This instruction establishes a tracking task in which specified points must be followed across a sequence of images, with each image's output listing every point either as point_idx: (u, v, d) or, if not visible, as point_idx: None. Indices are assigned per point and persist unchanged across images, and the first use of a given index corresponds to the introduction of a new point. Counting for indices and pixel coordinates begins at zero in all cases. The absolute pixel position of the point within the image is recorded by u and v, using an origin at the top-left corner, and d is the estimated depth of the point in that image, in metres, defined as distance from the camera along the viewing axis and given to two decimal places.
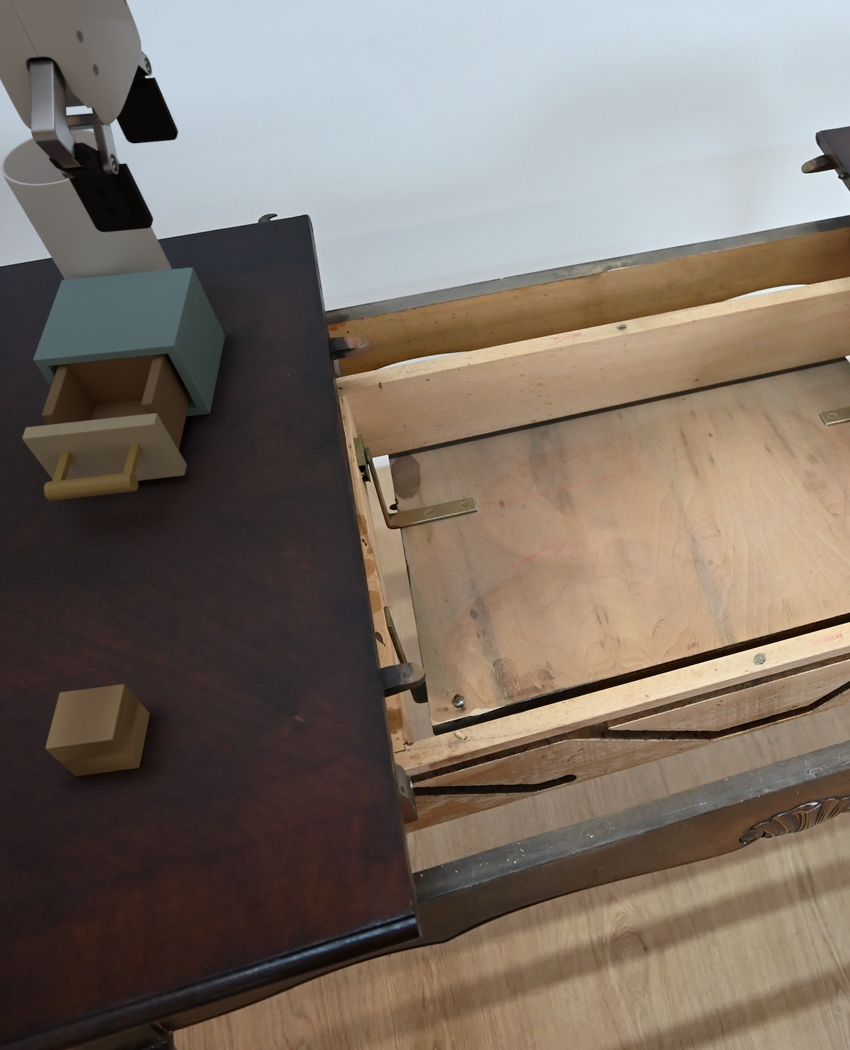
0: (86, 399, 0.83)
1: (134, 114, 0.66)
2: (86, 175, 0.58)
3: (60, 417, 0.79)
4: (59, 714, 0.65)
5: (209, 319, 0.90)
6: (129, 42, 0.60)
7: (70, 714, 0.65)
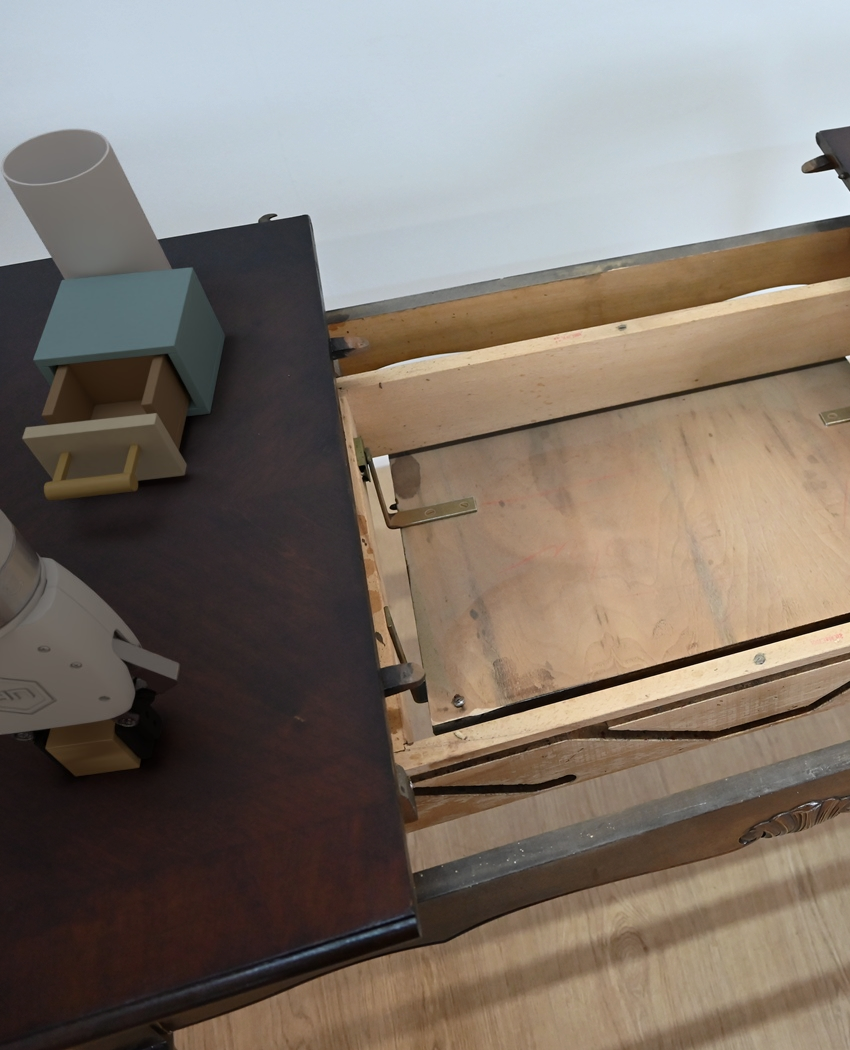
0: (86, 399, 0.83)
1: None
2: None
3: (60, 417, 0.79)
4: None
5: (209, 319, 0.90)
6: None
7: None
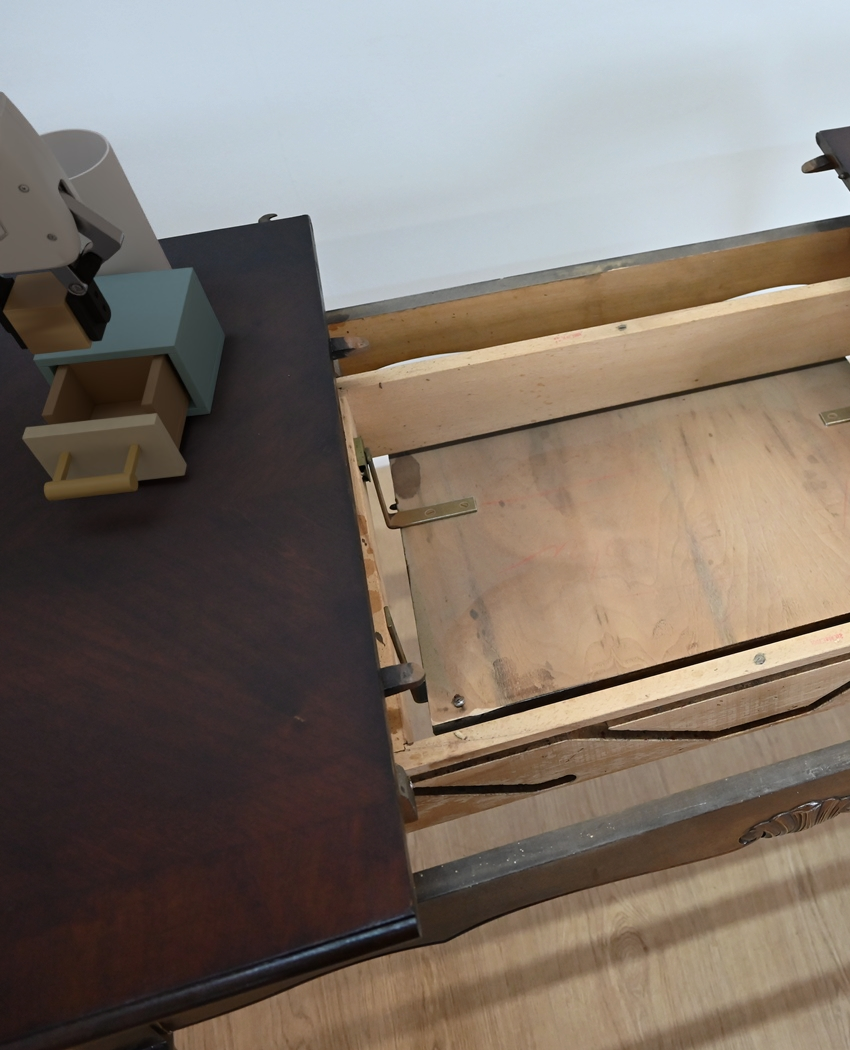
0: (86, 399, 0.83)
1: None
2: None
3: (60, 417, 0.79)
4: (16, 289, 0.72)
5: (209, 319, 0.90)
6: None
7: (26, 288, 0.72)
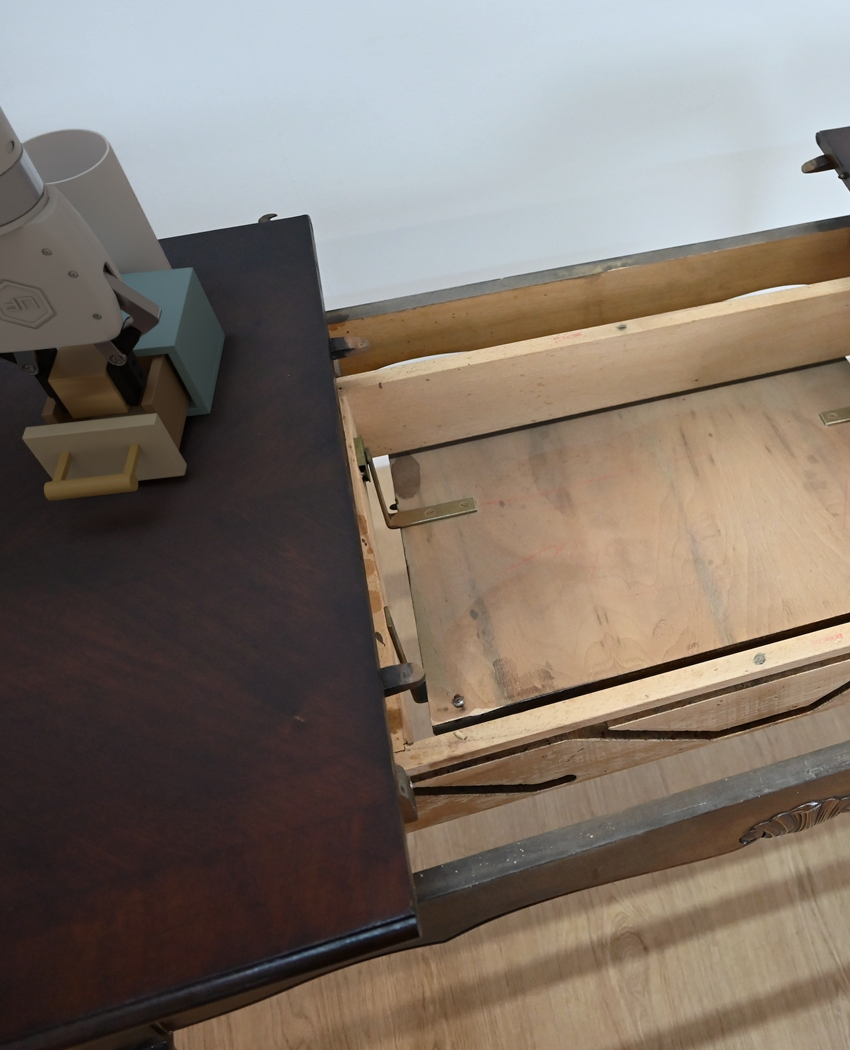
0: None
1: None
2: None
3: (60, 417, 0.79)
4: (60, 358, 0.77)
5: (209, 319, 0.90)
6: None
7: (68, 358, 0.77)
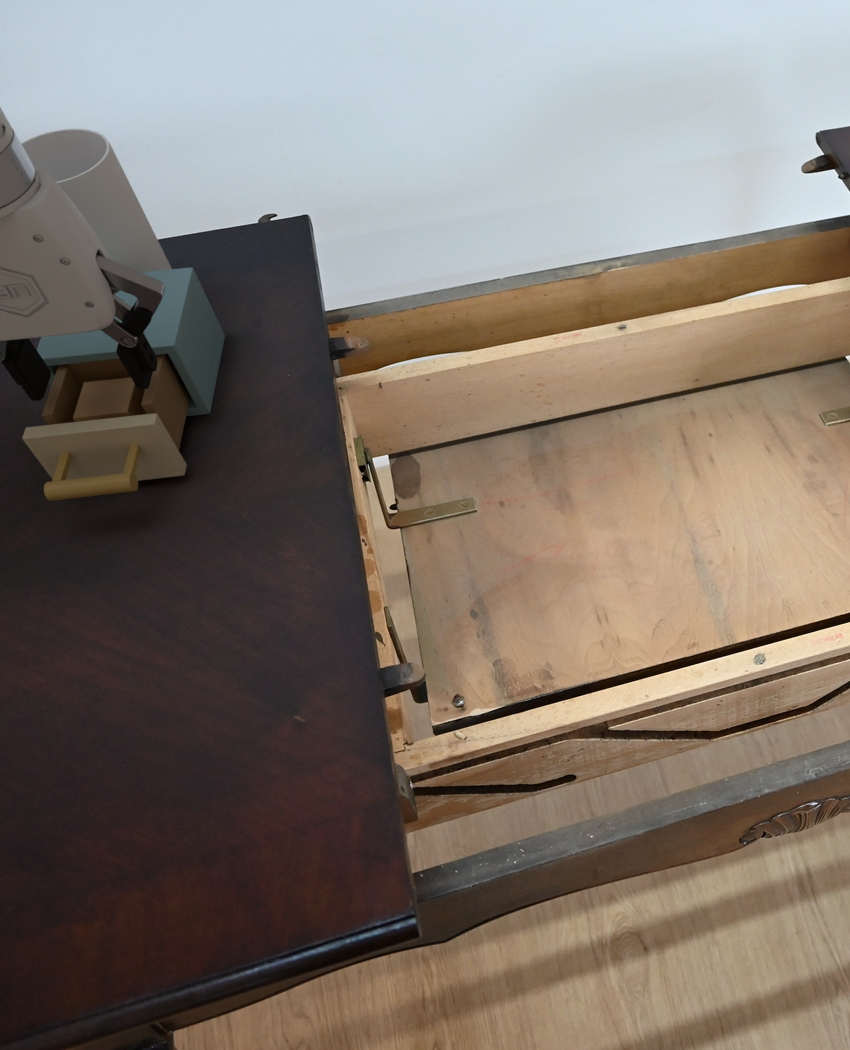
0: None
1: (33, 369, 0.76)
2: None
3: (60, 417, 0.79)
4: (84, 396, 0.80)
5: (209, 319, 0.90)
6: None
7: (92, 396, 0.80)
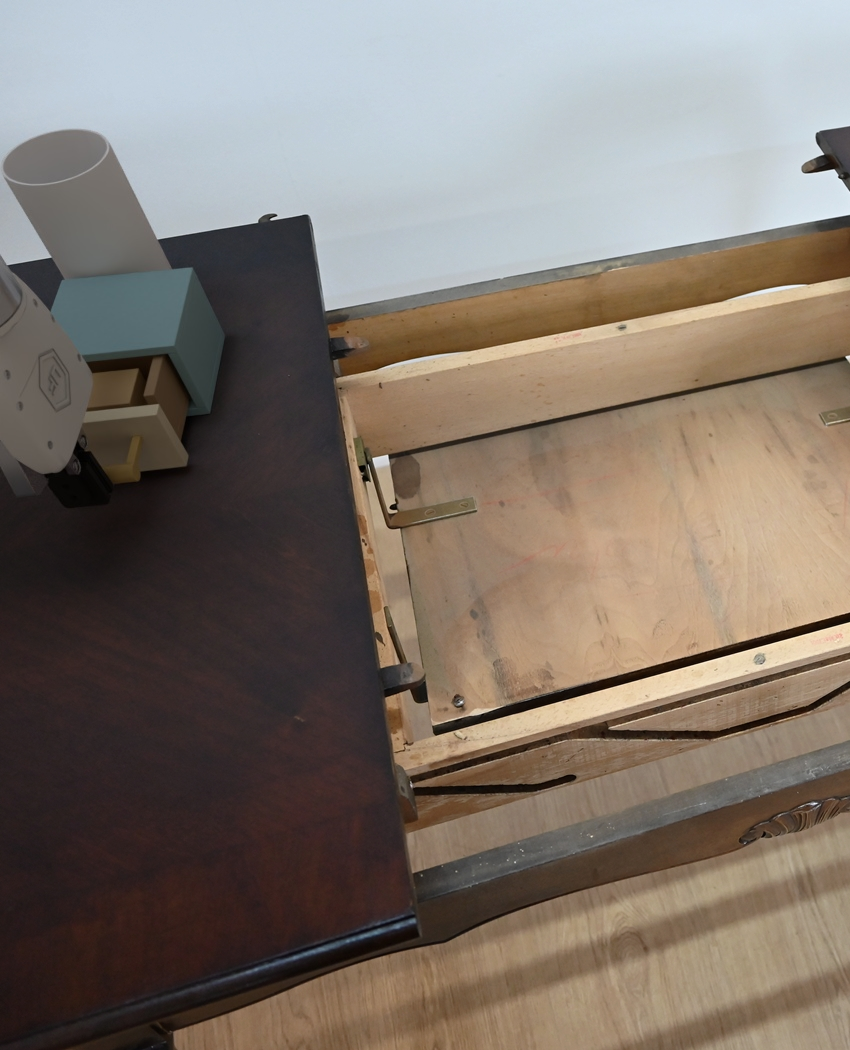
0: None
1: None
2: None
3: None
4: None
5: (209, 319, 0.90)
6: None
7: (95, 387, 0.80)
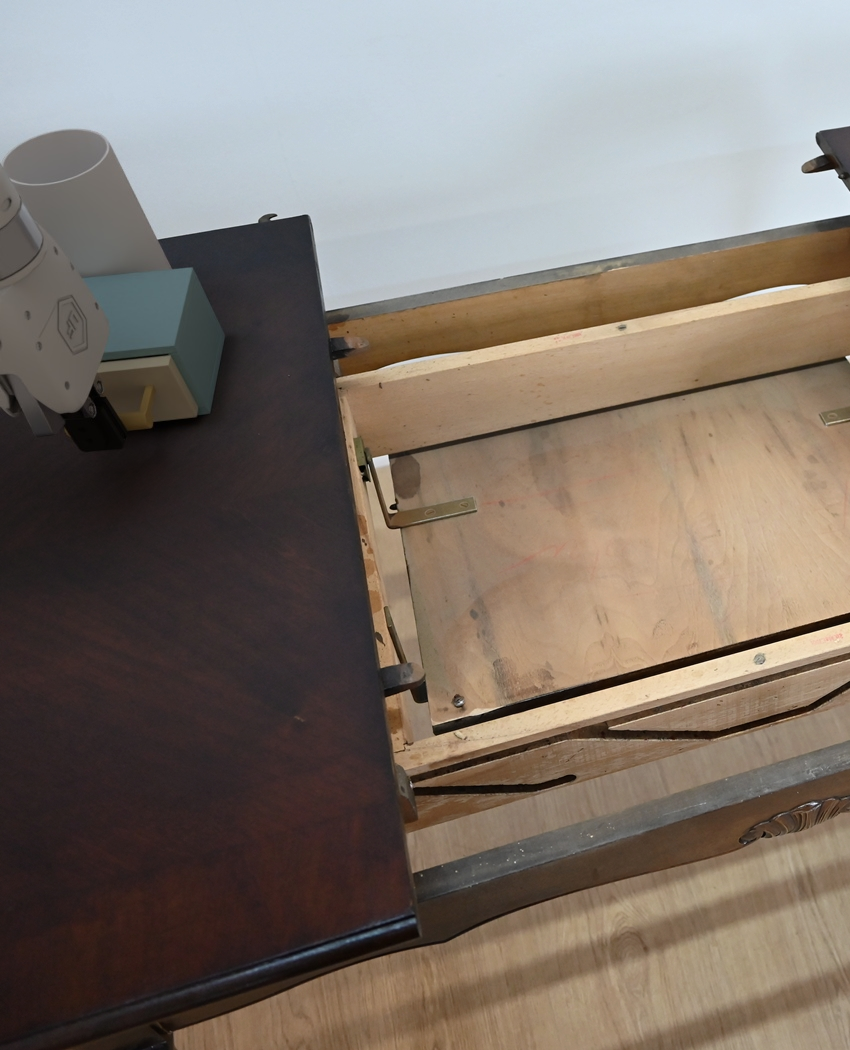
0: None
1: None
2: None
3: None
4: None
5: (209, 319, 0.90)
6: None
7: None
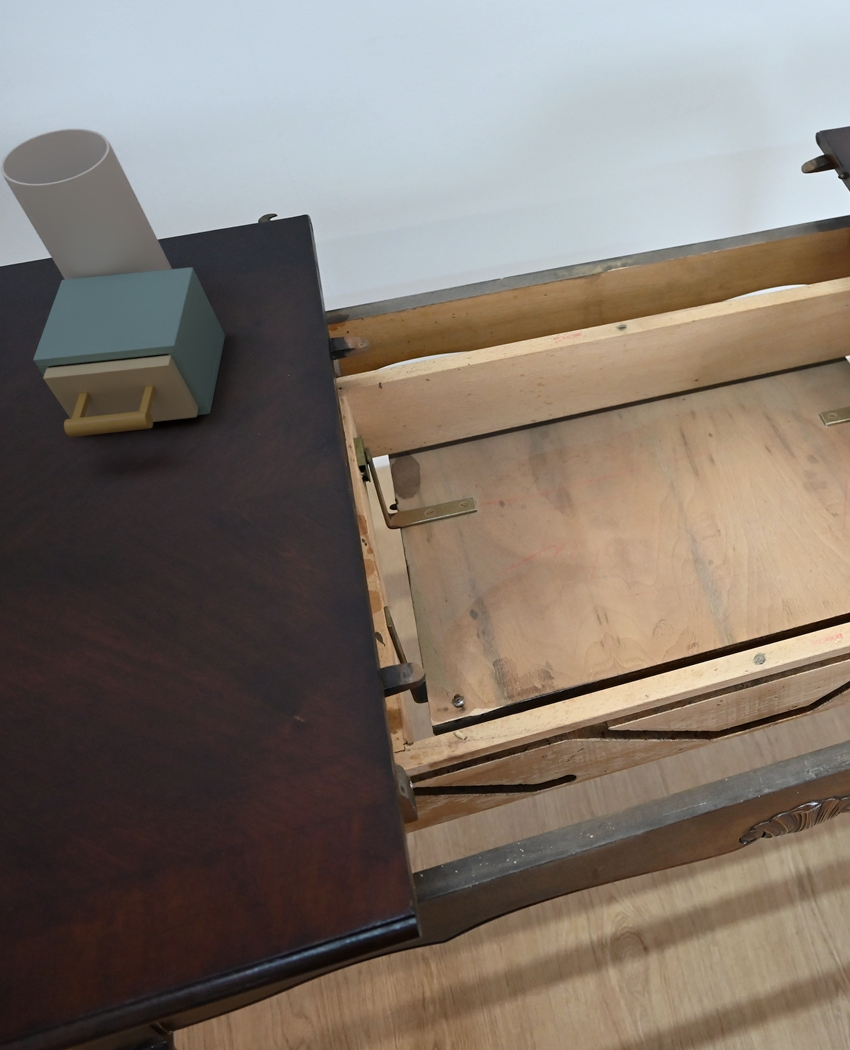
0: None
1: None
2: None
3: None
4: None
5: (209, 319, 0.90)
6: None
7: None
